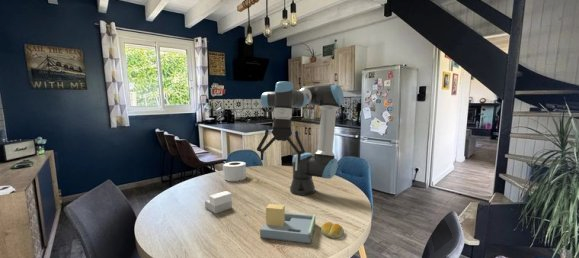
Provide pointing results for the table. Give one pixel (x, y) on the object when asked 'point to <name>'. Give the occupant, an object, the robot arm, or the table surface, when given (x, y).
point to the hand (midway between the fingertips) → (279, 169)
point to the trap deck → (291, 229)
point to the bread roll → (332, 230)
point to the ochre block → (275, 215)
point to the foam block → (219, 202)
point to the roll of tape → (234, 171)
